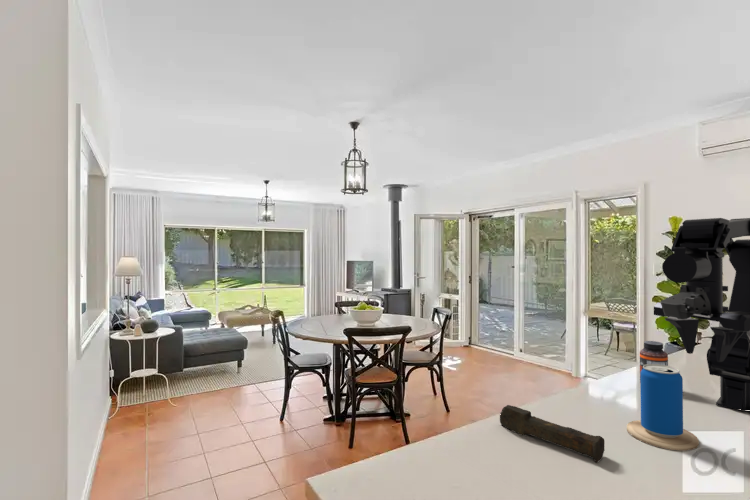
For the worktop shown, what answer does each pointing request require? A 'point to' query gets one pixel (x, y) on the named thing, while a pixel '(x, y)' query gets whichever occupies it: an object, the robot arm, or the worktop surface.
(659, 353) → the supplement bottle
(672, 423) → the beverage can
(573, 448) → the hand tool
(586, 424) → the worktop surface
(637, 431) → the coaster
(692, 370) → the worktop surface
